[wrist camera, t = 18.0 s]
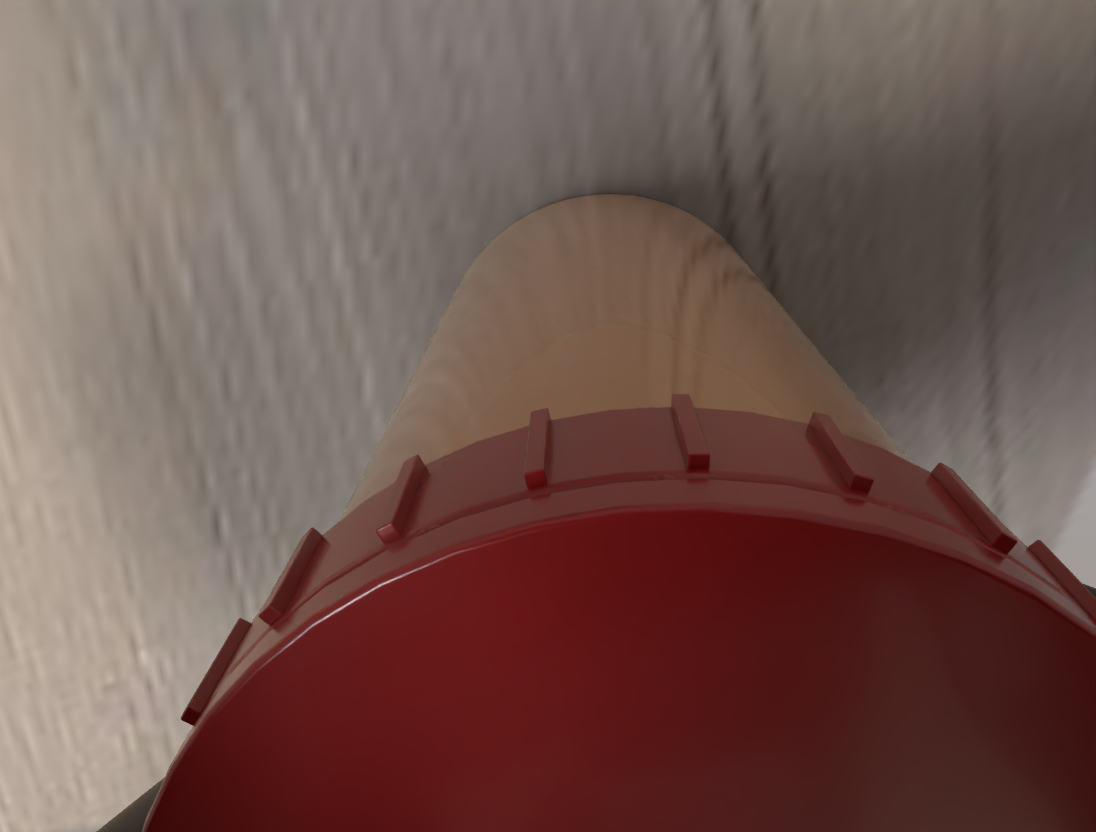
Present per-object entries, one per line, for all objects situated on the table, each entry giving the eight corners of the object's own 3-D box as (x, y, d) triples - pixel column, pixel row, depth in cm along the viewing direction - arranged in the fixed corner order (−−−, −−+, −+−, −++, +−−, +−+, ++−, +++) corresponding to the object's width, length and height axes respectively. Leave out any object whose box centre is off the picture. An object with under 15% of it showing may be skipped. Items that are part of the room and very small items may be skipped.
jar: (841, 326, 17) (1376, 865, 6) (636, 566, 19) (733, 1354, 7) (571, 121, 16) (564, 280, 5) (379, 394, 18) (30, 1002, 6)
